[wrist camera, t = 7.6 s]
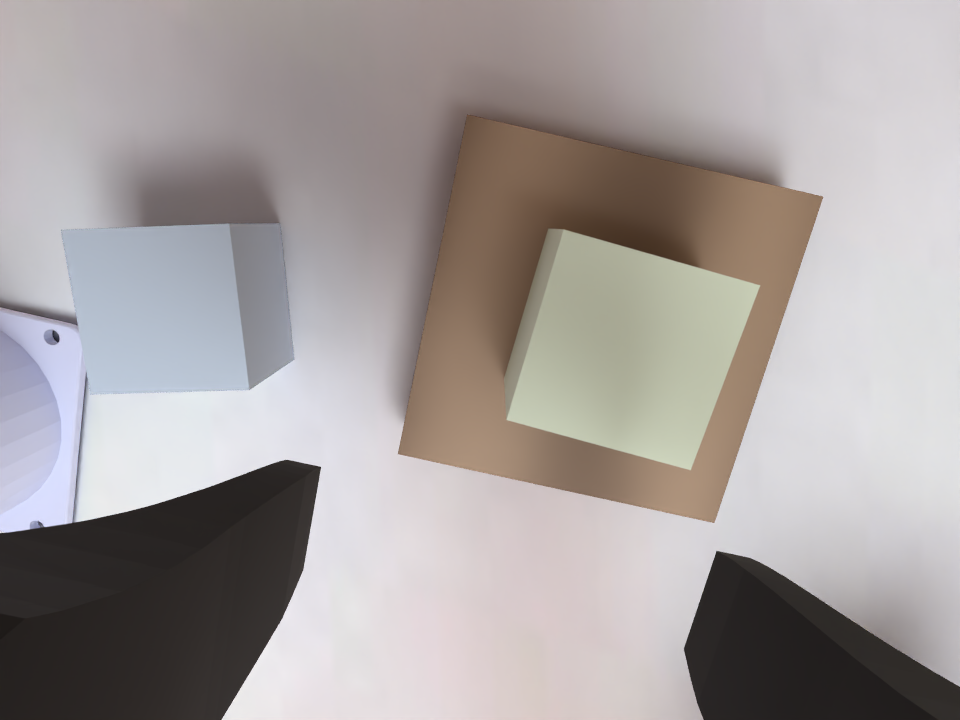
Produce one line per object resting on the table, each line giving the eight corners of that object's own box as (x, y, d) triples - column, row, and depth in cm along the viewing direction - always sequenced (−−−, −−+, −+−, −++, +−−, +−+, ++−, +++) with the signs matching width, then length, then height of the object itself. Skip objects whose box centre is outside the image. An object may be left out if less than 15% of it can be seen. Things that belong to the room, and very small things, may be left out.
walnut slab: (411, 423, 22) (397, 453, 19) (471, 130, 20) (467, 114, 17) (685, 482, 22) (714, 522, 19) (775, 200, 20) (823, 196, 17)
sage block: (504, 378, 18) (506, 419, 14) (548, 228, 17) (563, 229, 13) (648, 418, 18) (690, 470, 14) (700, 271, 17) (760, 285, 14)
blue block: (165, 362, 21) (90, 394, 17) (145, 228, 20) (60, 229, 16) (295, 358, 21) (249, 389, 17) (281, 223, 20) (229, 223, 16)
